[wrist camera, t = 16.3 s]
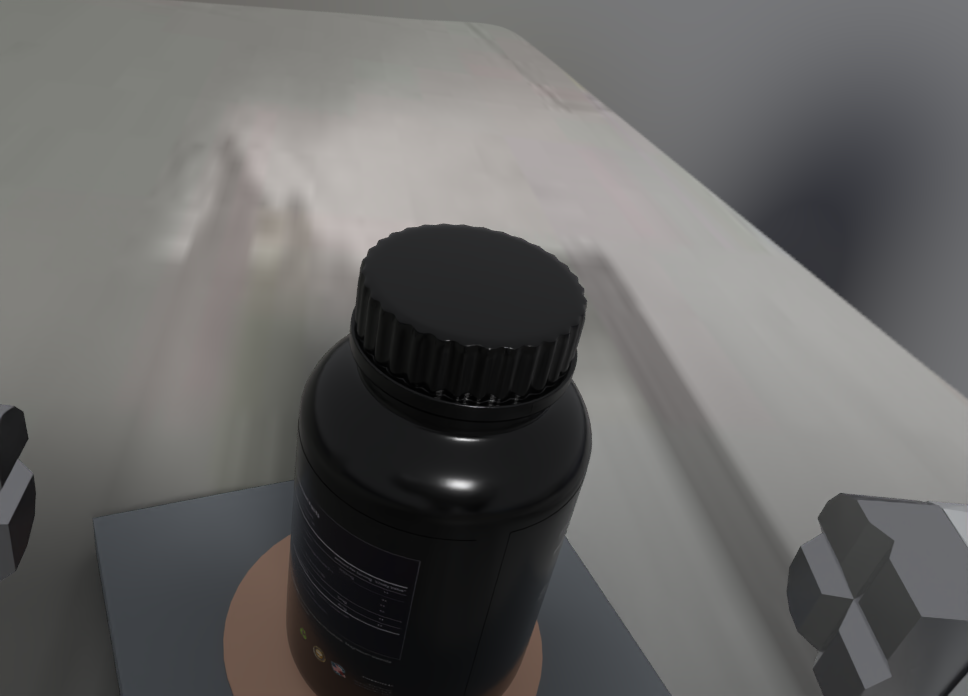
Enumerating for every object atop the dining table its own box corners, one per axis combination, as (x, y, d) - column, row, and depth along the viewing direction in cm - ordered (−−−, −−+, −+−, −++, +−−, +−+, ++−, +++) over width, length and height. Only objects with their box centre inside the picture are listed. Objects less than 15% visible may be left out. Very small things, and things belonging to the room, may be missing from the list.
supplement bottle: (402, 506, 29) (467, 174, 22) (566, 639, 26) (701, 303, 19) (228, 623, 24) (240, 247, 17) (403, 803, 21) (504, 435, 14)
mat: (175, 1020, 18) (174, 991, 17) (96, 551, 27) (92, 515, 26) (695, 787, 25) (715, 757, 24) (493, 469, 33) (502, 438, 32)
